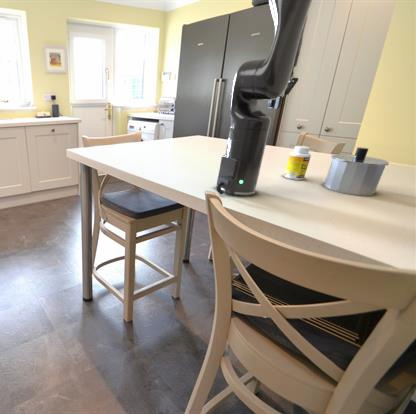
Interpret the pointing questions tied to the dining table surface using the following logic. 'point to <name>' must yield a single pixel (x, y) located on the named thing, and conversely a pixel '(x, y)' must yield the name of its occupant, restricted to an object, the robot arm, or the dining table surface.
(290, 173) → the supplement bottle
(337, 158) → the pot lid
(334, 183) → the pot
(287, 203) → the dining table surface
